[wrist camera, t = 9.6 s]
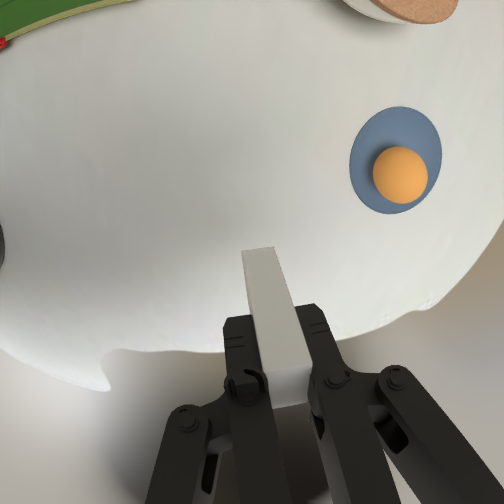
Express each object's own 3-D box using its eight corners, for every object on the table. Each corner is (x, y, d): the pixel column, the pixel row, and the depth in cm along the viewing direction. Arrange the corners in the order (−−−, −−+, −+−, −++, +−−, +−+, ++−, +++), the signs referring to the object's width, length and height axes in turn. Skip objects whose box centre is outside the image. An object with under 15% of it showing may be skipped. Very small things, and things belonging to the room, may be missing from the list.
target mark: (346, 218, 30) (347, 219, 30) (350, 103, 24) (351, 104, 24) (432, 208, 31) (433, 209, 31) (445, 111, 24) (446, 112, 24)
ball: (359, 194, 28) (397, 218, 24) (363, 141, 25) (405, 158, 21) (396, 186, 30) (433, 207, 25) (401, 138, 27) (441, 154, 22)
